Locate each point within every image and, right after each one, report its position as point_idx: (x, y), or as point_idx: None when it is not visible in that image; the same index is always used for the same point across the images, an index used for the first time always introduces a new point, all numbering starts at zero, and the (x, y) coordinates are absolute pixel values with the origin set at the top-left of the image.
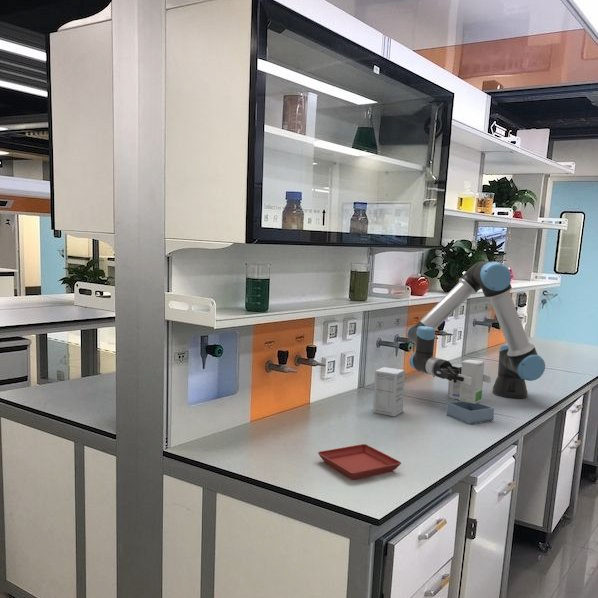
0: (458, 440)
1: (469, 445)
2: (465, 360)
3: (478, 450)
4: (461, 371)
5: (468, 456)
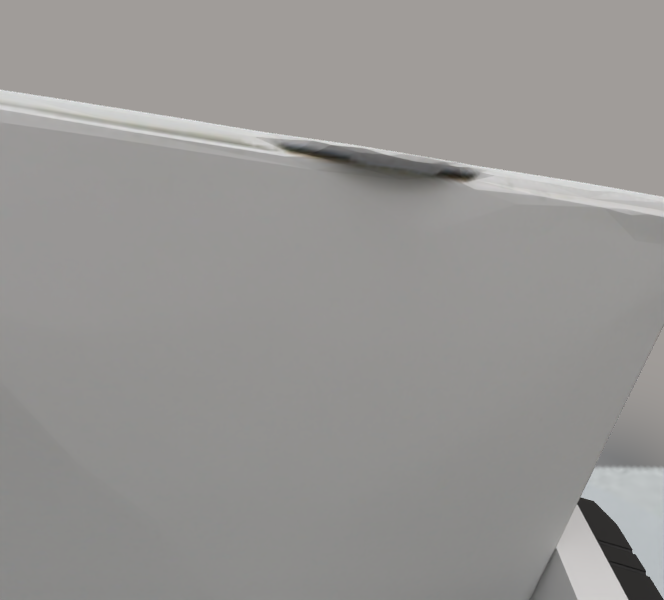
0: (646, 566)
1: (611, 508)
2: (445, 161)
3: (595, 471)
4: (586, 482)
5: (660, 473)
